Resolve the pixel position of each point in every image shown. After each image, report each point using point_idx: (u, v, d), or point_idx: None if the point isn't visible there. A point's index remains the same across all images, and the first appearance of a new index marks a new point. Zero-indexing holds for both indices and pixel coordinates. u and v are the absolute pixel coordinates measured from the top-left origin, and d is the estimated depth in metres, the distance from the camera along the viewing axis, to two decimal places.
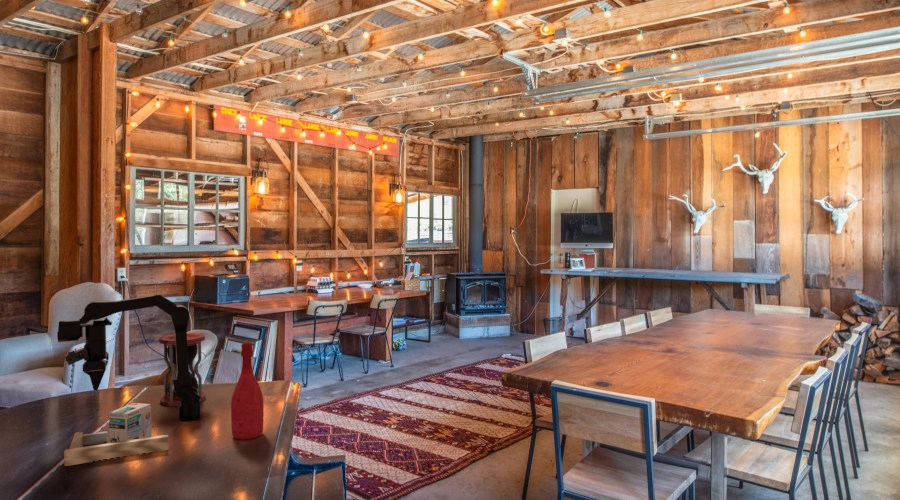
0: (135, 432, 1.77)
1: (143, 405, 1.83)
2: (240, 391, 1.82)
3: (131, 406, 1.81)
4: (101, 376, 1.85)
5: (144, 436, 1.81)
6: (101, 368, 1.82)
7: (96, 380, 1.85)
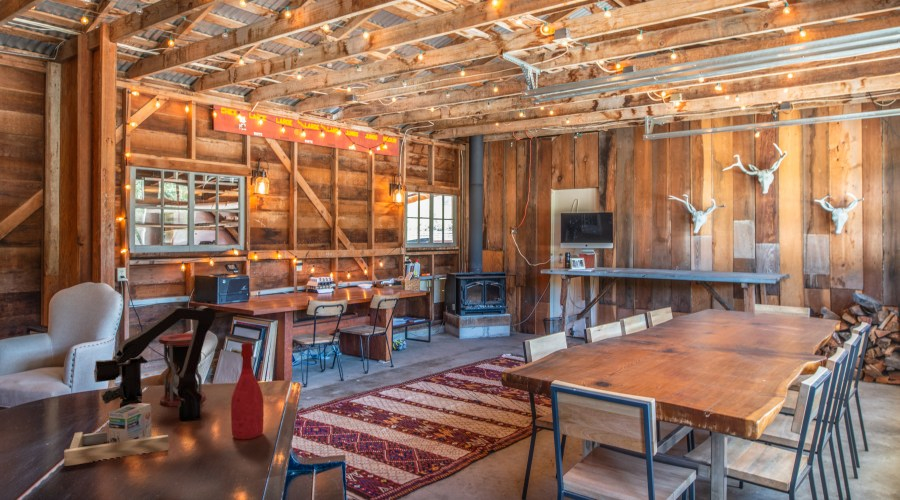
0: (135, 432, 1.77)
1: (143, 405, 1.83)
2: (240, 391, 1.82)
3: (131, 406, 1.81)
4: None
5: (144, 436, 1.81)
6: None
7: None
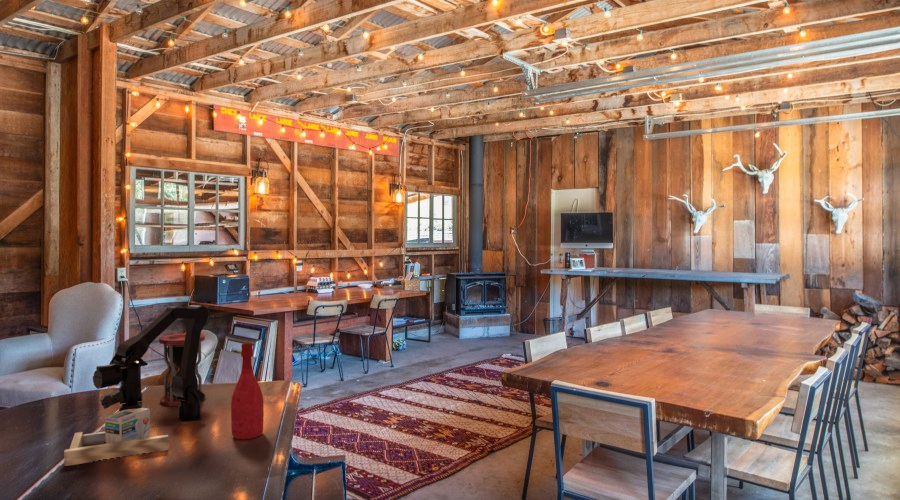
0: (131, 438, 1.72)
1: (141, 410, 1.77)
2: (240, 391, 1.82)
3: (129, 410, 1.76)
4: None
5: None
6: None
7: None
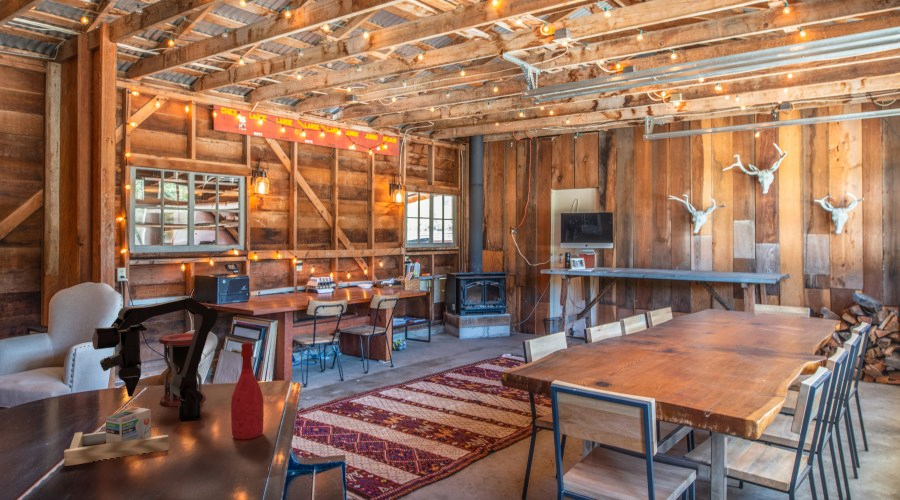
0: (131, 438, 1.72)
1: (142, 410, 1.77)
2: (240, 391, 1.82)
3: (130, 411, 1.76)
4: (136, 382, 1.85)
5: None
6: (136, 374, 1.82)
7: (131, 387, 1.85)
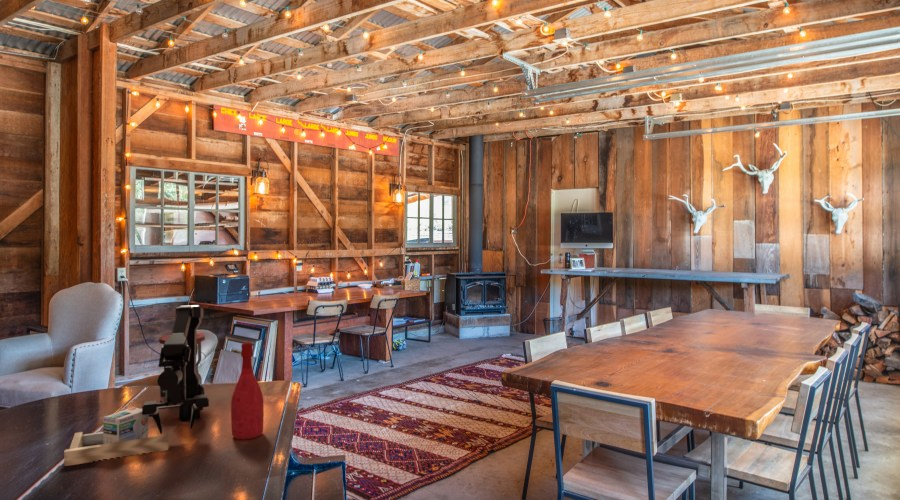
0: (129, 438, 1.72)
1: (139, 410, 1.77)
2: (240, 391, 1.82)
3: (127, 411, 1.76)
4: None
5: None
6: (142, 412, 1.76)
7: None
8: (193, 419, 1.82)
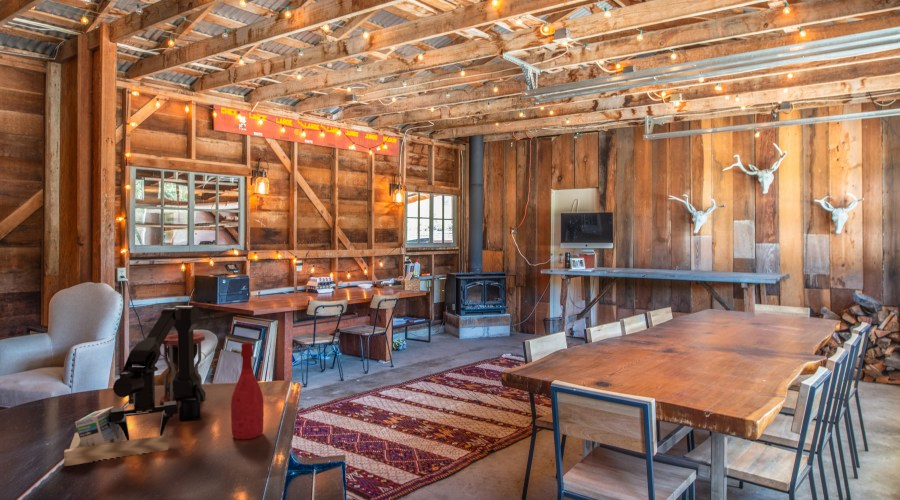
0: (109, 434, 1.71)
1: (107, 408, 1.76)
2: (240, 391, 1.82)
3: (95, 412, 1.74)
4: None
5: (118, 438, 1.75)
6: None
7: None
8: (163, 426, 1.78)
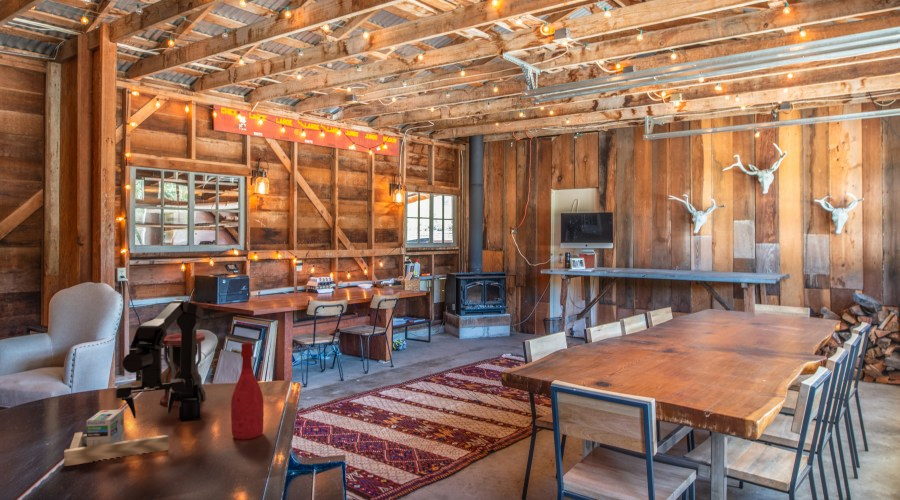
0: (115, 438, 1.72)
1: (116, 411, 1.77)
2: (240, 391, 1.82)
3: (104, 413, 1.74)
4: None
5: None
6: (116, 396, 1.72)
7: None
8: (170, 403, 1.79)
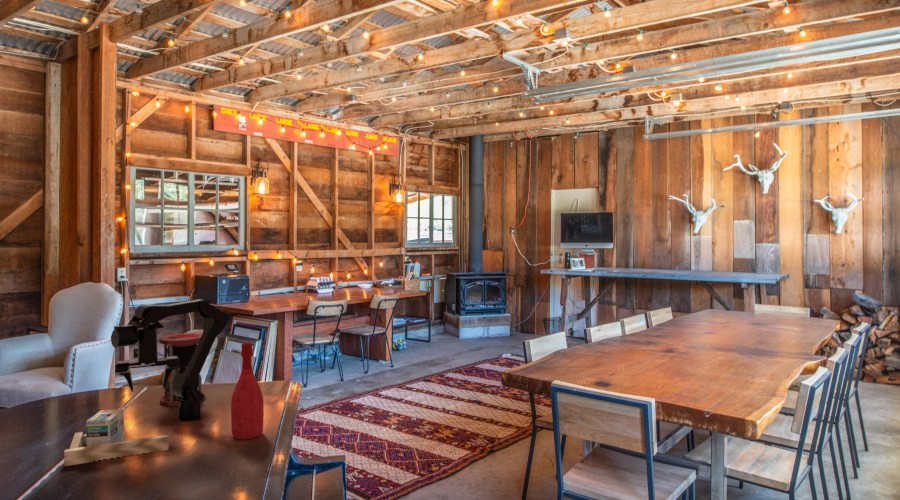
0: (115, 438, 1.72)
1: (116, 411, 1.77)
2: (240, 391, 1.82)
3: (104, 413, 1.74)
4: None
5: None
6: (115, 371, 1.85)
7: None
8: (165, 378, 1.93)
